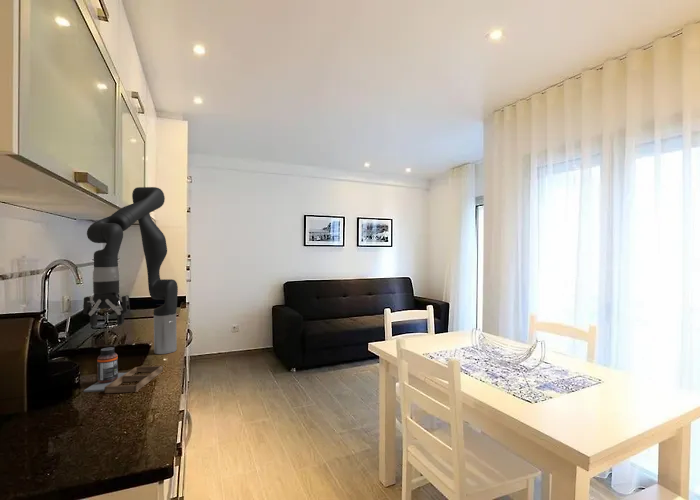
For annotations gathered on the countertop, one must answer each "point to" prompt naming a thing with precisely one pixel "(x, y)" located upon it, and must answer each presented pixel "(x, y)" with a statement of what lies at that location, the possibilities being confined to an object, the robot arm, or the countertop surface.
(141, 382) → the two bay tray
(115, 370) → the supplement bottle
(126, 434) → the countertop surface
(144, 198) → the robot arm
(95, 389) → the slate mat
